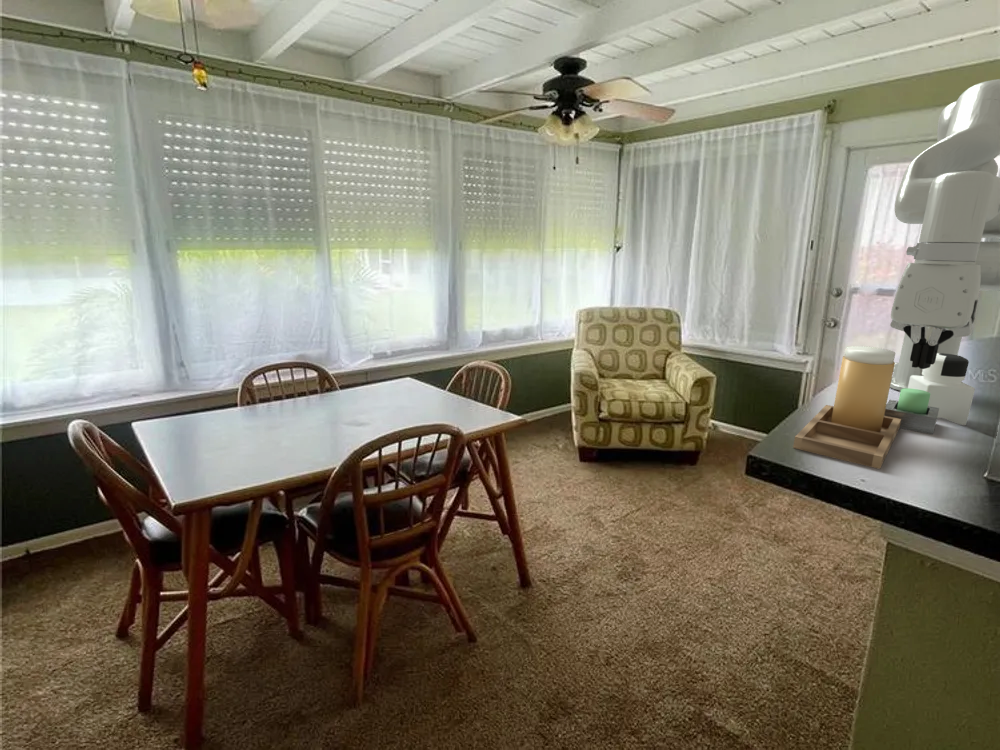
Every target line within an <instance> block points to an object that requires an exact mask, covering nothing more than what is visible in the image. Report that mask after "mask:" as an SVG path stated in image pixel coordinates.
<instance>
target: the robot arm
mask: <svg viewBox="0 0 1000 750" xmlns="http://www.w3.org/2000/svg"><path fill="white" fill-rule="evenodd" d="M936 134H937V135H936V138H937V142H936V143H933V144H932V145H931V146H929V147H928V148H927V149H925V150H923V151H922V152H921V153H919V154H918V155H917V156H916V157H915V158H913V160H912V161H911V162H910V163H909V165H908V166H907V167H906V169H905V170H904V174H903V175H902V178H901V181H900V185H899V188H898V190H897V194H896V197H895V202H894V214H895V217H896V218H897V220H898V221H899V222H902V223H903V224H908V225H912V224H913V225H921V230H920V235H919V240H918V242H916V245H914V246H908V247H907V249H906V253H905V254H906V255H907V256H912V257H913V260H914V262H908V263H907V264H906V267H905V269H904V271H903V274H902V276H901V278H900V282H899V284H898V287H897V290H896V293H895V296H894V300H893V302H892V308H891V312H890V318H891V323H890V325H889V326H890V328H893V329H895V330H899V331H901V332H904V336H903V340H902V341H903V342H902V345H901V350H900V355H899V360H898V362H895V365H894V370H893V375H892V380H891V384H890V389H893V390H896V391H899V392H901V389H904V388H908V385H909V380H910V376H912V375H916V376H924V375H922V370H923V369H926V368H929V367H930V366H931V364H934V363H935V360H936V356H937V353H945V354H953V355H958V356H959V351H960V346H961V342H962V337H963V338H964V337H965V338H966V337H969V336H972V334H973V323H974V322H975V319H976V316H977V311H978V307H979V298H980V291H991V292H992V291H993V292H994V291H995V292H1000V241H982V239H989V238H990V239H998V240H1000V177H999V176H997V175H998V172H999V166H998V163H997V161H996V160H995V159H996V158H997V157H998V156H999V155H1000V78H998V79H991V80H985V81H981V82H979V83H976V84H974V85H972V86H970V87H968V88H967V89H966V90H965V91H963V92H962V93H961V94H960V95H959V97H958V99H956V101H953V102H951V103H949V104H948V105H946V106H945V107H944V108H943V109H942V111H941V112H940V114H939V116H938V122H937V131H936Z"/></svg>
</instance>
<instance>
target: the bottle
mask: <svg viewBox="0 0 1000 750" xmlns="http://www.w3.org/2000/svg"><path fill="white" fill-rule="evenodd" d="M895 356H896V352H895V351H893V350H891V349H885V348H882V347H873V346H863V345H851V346H847V347H845V350H844V356H842V359H841V360H842V361H841V366H840V371H839V374H838V381H837V382H838V383H837V387H836V392H835V397H834V403H833V406H834V408H833V414H832V419H831V423H836V424H841V425H846V426H851V427H856V428H860V429H865V430H870V431H875V432H881V427H882V423H883V418H884V413H885V408H886V405H887V403H888V400H889V399H888V398H889V392H890V389H891V387H890V384H891V380H892V377H893V373H894V372H893V370H894V365H895V363H896V362H895Z"/></svg>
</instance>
